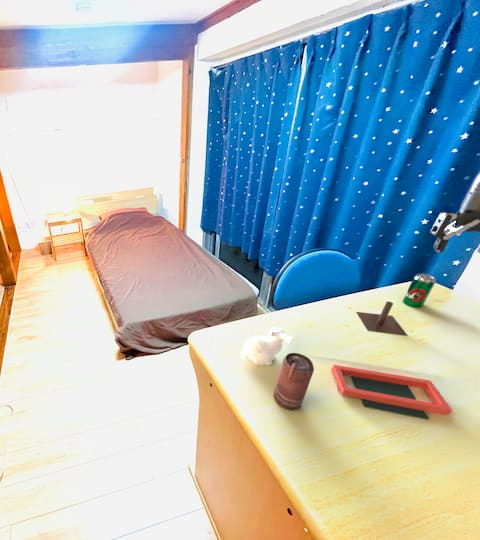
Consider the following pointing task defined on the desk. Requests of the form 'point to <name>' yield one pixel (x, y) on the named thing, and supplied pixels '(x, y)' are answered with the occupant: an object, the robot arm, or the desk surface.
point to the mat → (389, 390)
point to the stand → (381, 321)
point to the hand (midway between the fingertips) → (459, 252)
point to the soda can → (419, 290)
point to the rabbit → (264, 347)
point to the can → (293, 381)
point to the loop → (435, 407)
